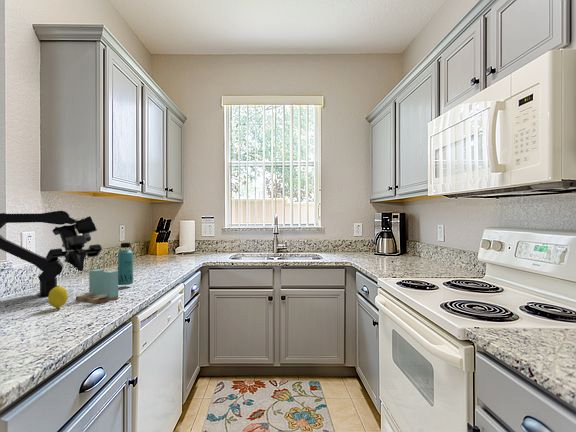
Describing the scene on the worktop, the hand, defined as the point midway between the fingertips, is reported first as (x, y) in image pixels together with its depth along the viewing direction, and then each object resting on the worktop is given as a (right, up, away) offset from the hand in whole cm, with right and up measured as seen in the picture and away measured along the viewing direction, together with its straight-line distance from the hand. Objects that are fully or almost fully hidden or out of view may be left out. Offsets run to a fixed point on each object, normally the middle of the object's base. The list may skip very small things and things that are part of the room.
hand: (81, 270), depth 132 cm
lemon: (+3, -11, -18) cm, 21 cm away
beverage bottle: (+9, -10, +17) cm, 22 cm away
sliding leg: (+6, -9, -3) cm, 11 cm away
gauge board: (+9, -10, -5) cm, 14 cm away
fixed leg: (+14, -9, -6) cm, 18 cm away
